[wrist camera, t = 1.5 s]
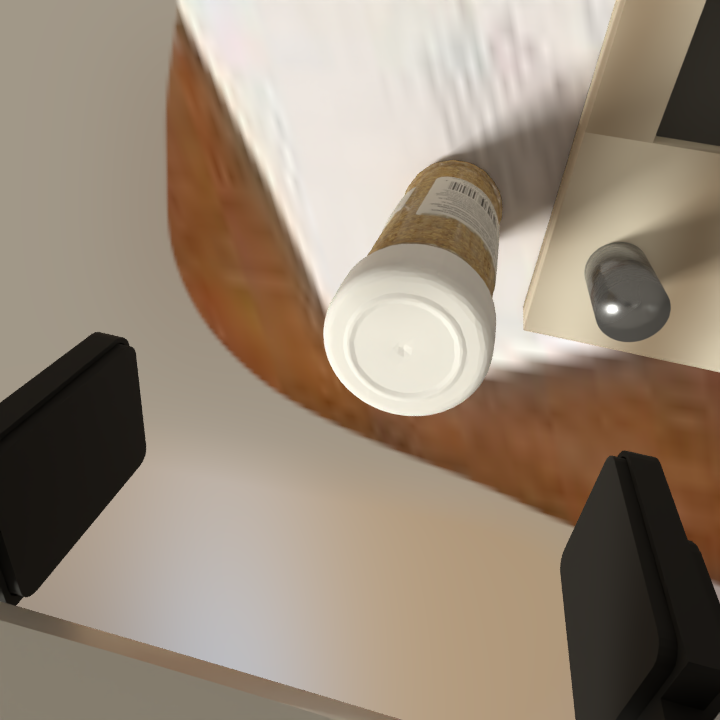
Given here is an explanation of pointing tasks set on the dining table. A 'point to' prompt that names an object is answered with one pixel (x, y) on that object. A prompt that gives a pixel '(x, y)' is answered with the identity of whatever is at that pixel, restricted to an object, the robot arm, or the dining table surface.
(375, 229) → the dining table surface
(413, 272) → the sprinkles bottle
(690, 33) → the cream square frame
